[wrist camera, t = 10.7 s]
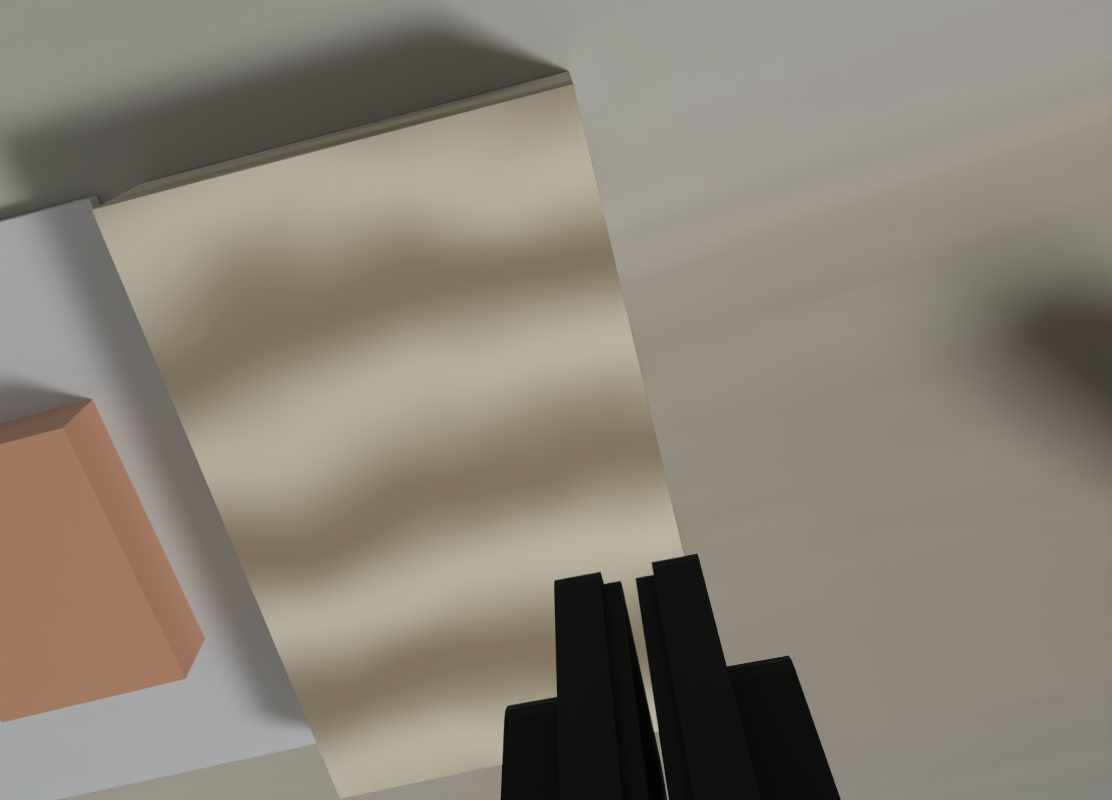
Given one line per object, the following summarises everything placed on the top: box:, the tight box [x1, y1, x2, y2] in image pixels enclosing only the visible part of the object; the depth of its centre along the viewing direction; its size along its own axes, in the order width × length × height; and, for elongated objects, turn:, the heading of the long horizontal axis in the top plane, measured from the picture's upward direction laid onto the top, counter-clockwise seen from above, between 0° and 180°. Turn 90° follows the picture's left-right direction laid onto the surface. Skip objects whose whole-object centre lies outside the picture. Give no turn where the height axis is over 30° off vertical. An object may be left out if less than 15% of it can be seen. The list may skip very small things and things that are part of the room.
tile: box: [0, 399, 205, 723], centre depth 37 cm, size 10×7×2 cm
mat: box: [0, 195, 317, 800], centre depth 38 cm, size 22×14×1 cm, turn 14°
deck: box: [92, 71, 684, 799], centre depth 35 cm, size 22×14×4 cm, turn 14°
